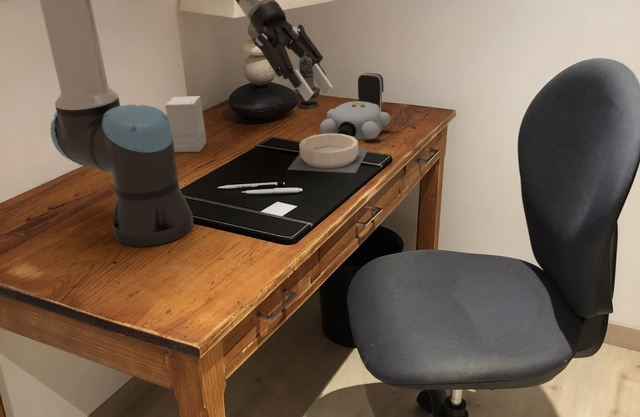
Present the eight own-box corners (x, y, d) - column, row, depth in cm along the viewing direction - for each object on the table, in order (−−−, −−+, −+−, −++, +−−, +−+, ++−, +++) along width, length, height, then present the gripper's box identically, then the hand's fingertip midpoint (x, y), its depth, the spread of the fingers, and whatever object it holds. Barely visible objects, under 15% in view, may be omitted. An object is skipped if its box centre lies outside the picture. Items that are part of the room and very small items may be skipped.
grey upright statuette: (324, 102, 152) (321, 49, 147) (317, 110, 147) (314, 55, 142) (299, 101, 154) (295, 49, 149) (291, 109, 149) (288, 55, 144)
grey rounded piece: (336, 119, 187) (311, 150, 171) (334, 91, 183) (308, 120, 167) (397, 124, 181) (377, 156, 165) (396, 94, 177) (375, 124, 161)
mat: (355, 174, 150) (355, 172, 150) (287, 170, 154) (287, 169, 154) (368, 150, 164) (368, 148, 164) (306, 147, 168) (306, 145, 168)
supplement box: (207, 142, 175) (201, 95, 170) (200, 152, 168) (193, 103, 163) (179, 142, 176) (173, 95, 171) (171, 152, 169) (164, 104, 164)
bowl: (351, 170, 152) (350, 154, 150) (294, 167, 155) (293, 151, 153) (362, 150, 163) (362, 134, 162) (309, 147, 167) (308, 132, 165)
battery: (385, 112, 193) (385, 73, 188) (379, 116, 190) (379, 76, 185) (363, 109, 196) (362, 71, 191) (357, 113, 193) (356, 74, 188)
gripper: (285, 15, 159) (339, 93, 156) (224, 29, 147) (281, 114, 144) (299, -7, 153) (355, 74, 150) (237, 6, 142) (297, 94, 138)
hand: (319, 93), depth 147 cm, fingers closed on grey upright statuette, 5 cm apart
